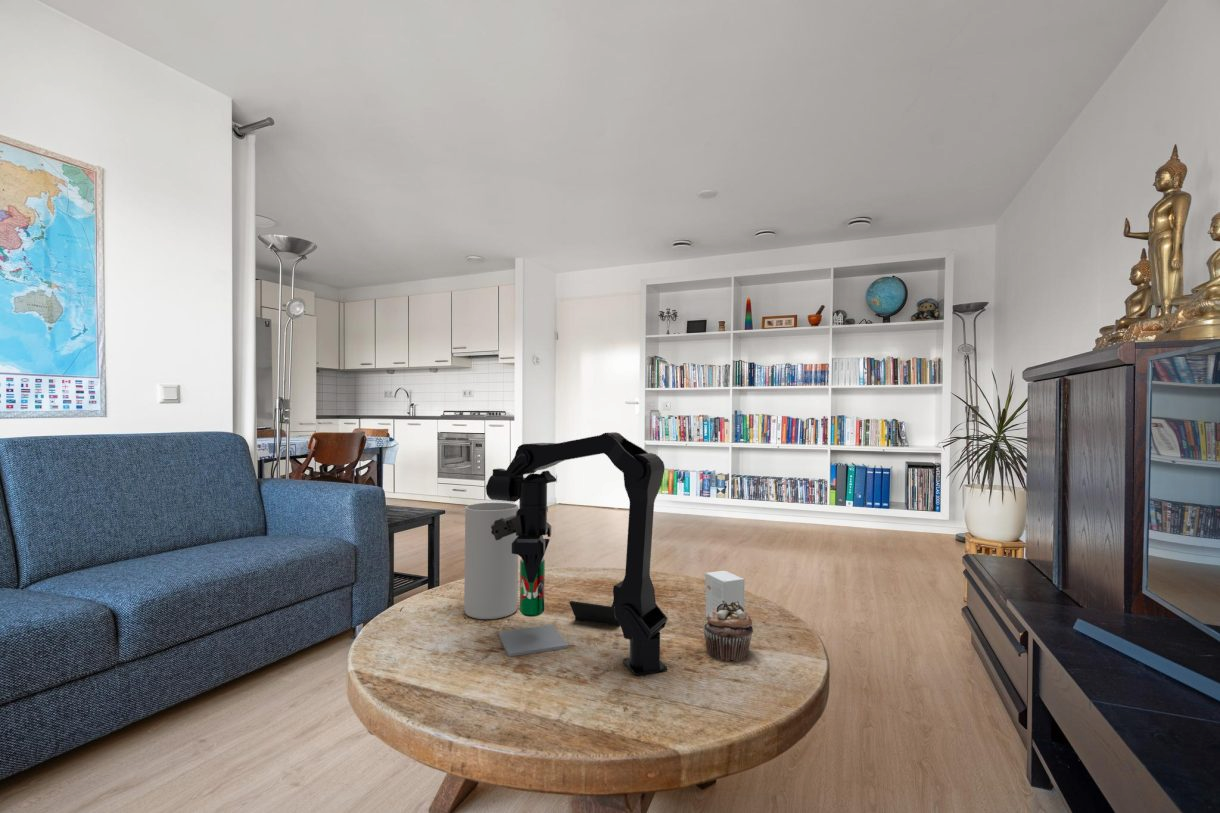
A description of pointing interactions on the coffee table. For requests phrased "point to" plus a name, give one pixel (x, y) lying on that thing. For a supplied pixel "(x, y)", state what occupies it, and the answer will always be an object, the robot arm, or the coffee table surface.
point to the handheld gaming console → (594, 613)
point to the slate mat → (531, 640)
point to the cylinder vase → (489, 563)
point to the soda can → (532, 591)
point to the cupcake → (728, 632)
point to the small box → (723, 589)
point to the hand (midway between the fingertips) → (532, 578)
